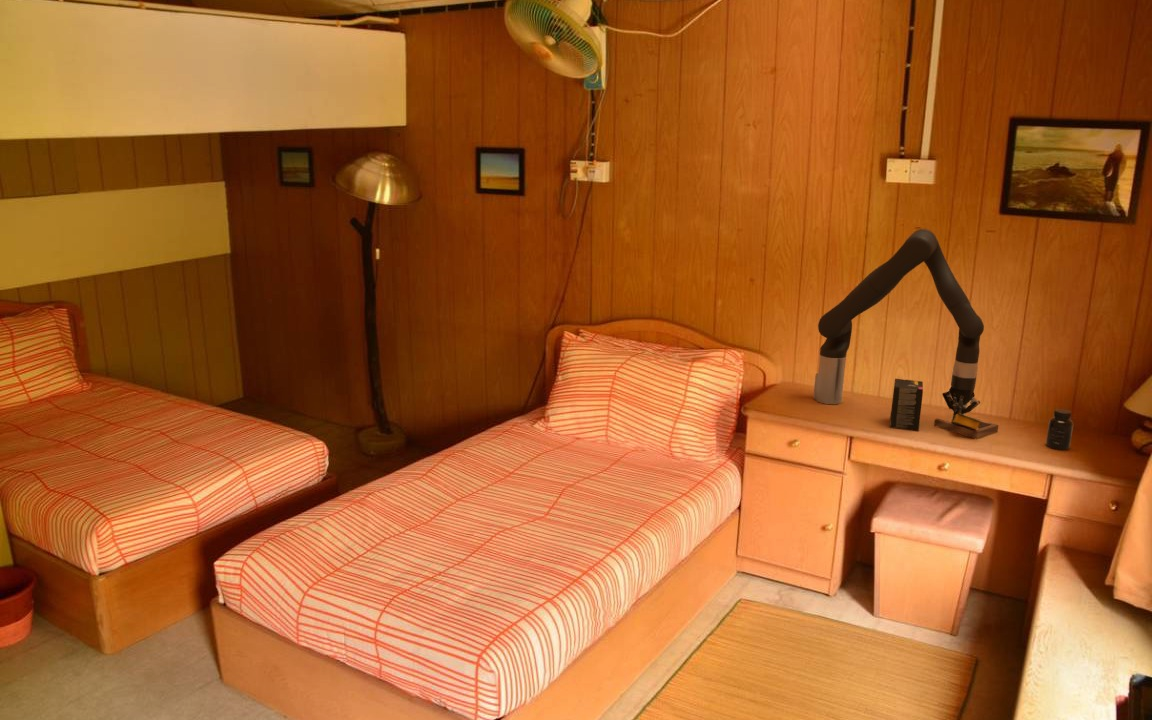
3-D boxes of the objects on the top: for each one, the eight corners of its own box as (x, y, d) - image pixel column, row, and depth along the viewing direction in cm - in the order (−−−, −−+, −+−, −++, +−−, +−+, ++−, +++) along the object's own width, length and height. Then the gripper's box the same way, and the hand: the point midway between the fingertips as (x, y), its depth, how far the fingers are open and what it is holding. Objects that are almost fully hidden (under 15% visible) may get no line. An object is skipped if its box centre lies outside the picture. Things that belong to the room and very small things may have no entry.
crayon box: (950, 423, 308) (954, 420, 297) (954, 414, 308) (958, 412, 297) (972, 431, 306) (977, 429, 295) (976, 422, 306) (981, 420, 295)
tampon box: (918, 431, 304) (924, 389, 300) (889, 428, 307) (894, 386, 303) (918, 421, 314) (923, 380, 310) (889, 418, 317) (894, 377, 313)
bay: (934, 425, 310) (934, 419, 309) (954, 419, 317) (955, 412, 316) (976, 439, 298) (977, 432, 297) (997, 431, 305) (998, 425, 304)
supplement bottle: (1048, 441, 297) (1054, 406, 294) (1071, 446, 293) (1077, 410, 290) (1043, 447, 292) (1048, 411, 289) (1066, 452, 288) (1072, 415, 285)
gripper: (940, 370, 308) (933, 419, 313) (976, 380, 298) (969, 430, 303) (952, 367, 313) (945, 415, 317) (989, 377, 302) (981, 426, 307)
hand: (957, 423), depth 310 cm, fingers closed
